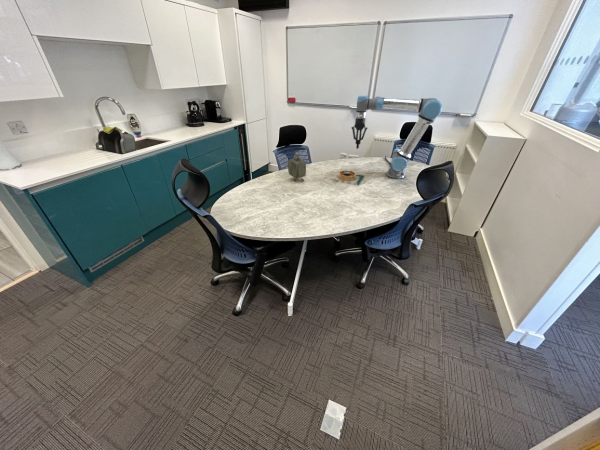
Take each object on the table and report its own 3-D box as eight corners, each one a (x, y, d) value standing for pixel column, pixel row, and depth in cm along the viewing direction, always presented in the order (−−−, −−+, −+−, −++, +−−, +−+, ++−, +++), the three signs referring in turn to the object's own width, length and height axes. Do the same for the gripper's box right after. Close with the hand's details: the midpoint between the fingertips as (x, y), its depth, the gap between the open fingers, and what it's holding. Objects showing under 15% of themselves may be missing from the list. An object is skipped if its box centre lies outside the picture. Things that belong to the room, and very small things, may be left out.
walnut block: (344, 176, 215) (344, 171, 213) (349, 176, 215) (349, 171, 212) (344, 178, 212) (344, 173, 209) (349, 178, 211) (349, 173, 208)
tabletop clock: (305, 181, 207) (306, 151, 193) (296, 184, 202) (296, 153, 189) (296, 176, 217) (296, 147, 203) (287, 178, 212) (286, 149, 199)
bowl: (341, 174, 221) (341, 169, 219) (356, 176, 216) (357, 171, 214) (336, 179, 210) (337, 174, 208) (352, 182, 205) (353, 177, 203)
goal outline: (340, 172, 225) (340, 172, 225) (363, 176, 217) (363, 175, 217) (333, 180, 208) (333, 180, 208) (358, 185, 201) (358, 184, 201)
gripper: (351, 118, 192) (348, 148, 204) (368, 118, 187) (364, 150, 200) (353, 116, 197) (350, 146, 210) (369, 117, 193) (366, 147, 205)
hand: (357, 148), depth 205 cm, fingers closed
